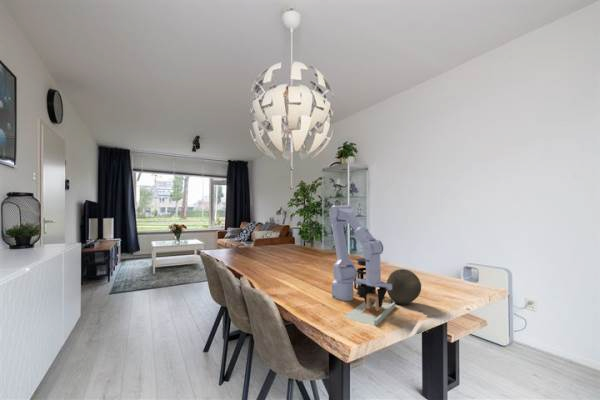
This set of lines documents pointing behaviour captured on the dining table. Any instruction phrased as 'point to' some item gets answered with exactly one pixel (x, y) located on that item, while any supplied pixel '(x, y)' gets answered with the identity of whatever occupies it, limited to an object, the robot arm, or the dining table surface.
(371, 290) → the french press
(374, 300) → the hook arm
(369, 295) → the peach u-shaped bracket
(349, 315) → the grey base plate
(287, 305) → the dining table surface
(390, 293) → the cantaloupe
